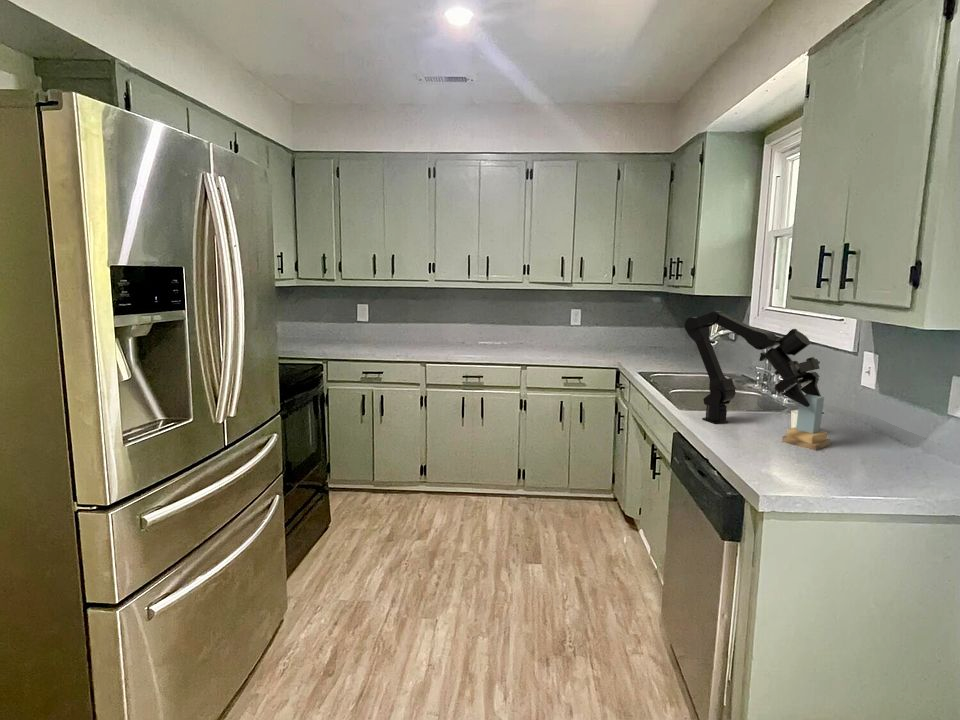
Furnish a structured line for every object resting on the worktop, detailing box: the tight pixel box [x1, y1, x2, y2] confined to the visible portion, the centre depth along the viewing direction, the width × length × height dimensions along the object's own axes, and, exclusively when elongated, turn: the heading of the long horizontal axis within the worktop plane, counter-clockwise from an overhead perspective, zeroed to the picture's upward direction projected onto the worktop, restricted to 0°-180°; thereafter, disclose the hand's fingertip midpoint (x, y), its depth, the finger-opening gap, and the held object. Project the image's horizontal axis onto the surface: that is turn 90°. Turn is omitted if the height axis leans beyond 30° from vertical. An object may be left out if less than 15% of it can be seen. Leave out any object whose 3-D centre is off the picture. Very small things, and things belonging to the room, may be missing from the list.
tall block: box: [796, 393, 825, 433], centre depth 179 cm, size 5×5×11 cm
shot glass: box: [790, 409, 798, 428], centre depth 193 cm, size 7×7×7 cm
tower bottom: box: [781, 434, 831, 451], centre depth 181 cm, size 10×10×2 cm
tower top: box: [786, 427, 828, 444], centre depth 180 cm, size 8×8×2 cm
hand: (815, 404), depth 178 cm, fingers open, 9 cm apart
